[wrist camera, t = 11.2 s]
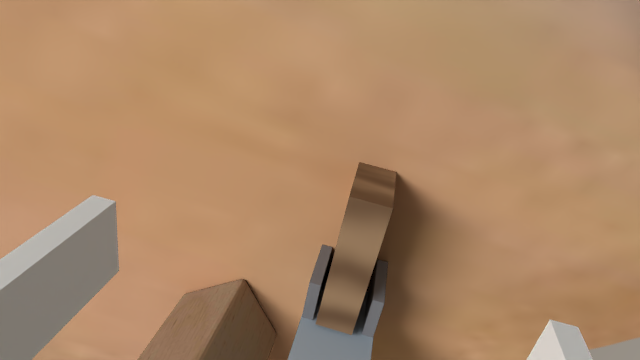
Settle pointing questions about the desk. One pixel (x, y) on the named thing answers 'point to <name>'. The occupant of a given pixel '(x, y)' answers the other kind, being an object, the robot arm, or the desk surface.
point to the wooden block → (214, 327)
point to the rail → (357, 247)
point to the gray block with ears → (330, 345)
